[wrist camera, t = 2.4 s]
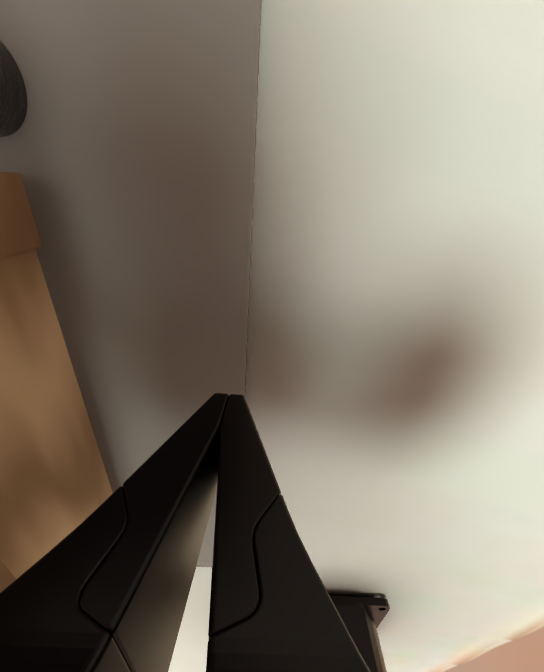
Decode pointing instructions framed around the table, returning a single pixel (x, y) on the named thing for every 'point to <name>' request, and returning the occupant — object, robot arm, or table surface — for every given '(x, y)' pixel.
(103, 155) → the mat
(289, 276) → the table surface
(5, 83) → the gate posts
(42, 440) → the gate
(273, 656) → the robot arm
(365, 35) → the table surface
